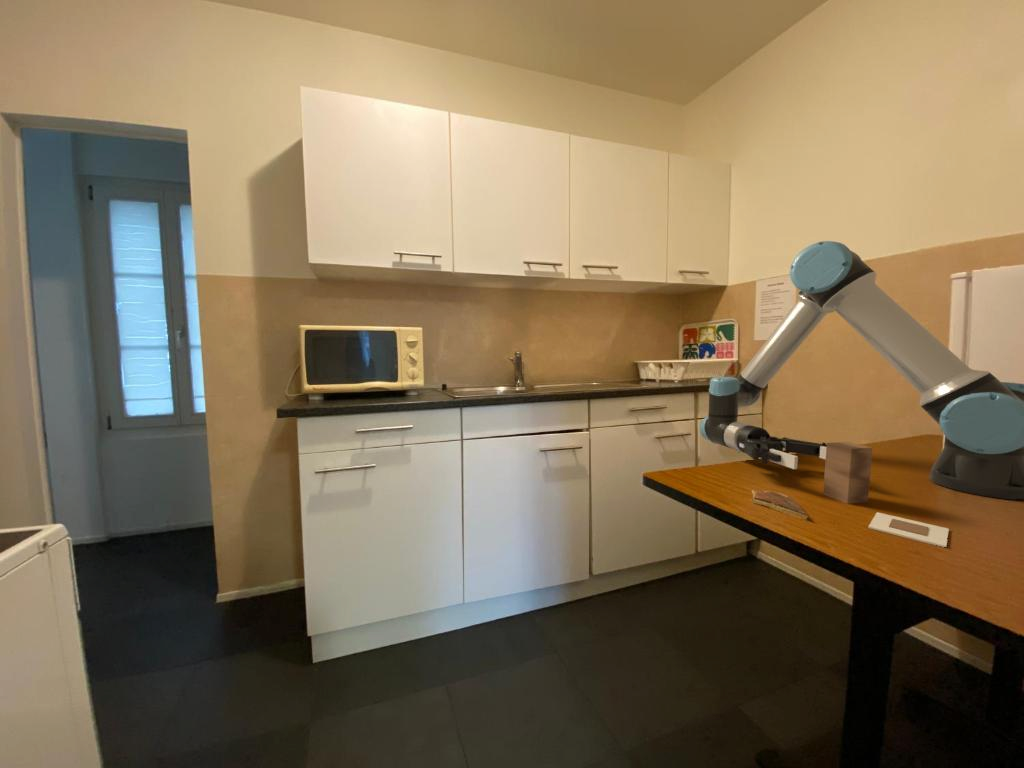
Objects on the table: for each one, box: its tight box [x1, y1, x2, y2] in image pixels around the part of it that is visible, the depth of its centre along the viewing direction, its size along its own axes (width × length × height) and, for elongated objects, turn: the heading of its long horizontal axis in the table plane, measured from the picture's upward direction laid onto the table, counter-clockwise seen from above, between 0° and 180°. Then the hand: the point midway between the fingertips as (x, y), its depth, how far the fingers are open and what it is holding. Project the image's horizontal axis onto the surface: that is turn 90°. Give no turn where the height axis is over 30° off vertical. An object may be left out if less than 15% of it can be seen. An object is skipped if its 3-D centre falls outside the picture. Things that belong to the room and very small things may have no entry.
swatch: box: [867, 511, 950, 548], centre depth 68 cm, size 9×9×1 cm
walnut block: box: [822, 441, 873, 505], centre depth 81 cm, size 5×5×11 cm
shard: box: [750, 489, 810, 521], centre depth 77 cm, size 11×8×2 cm
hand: (823, 461), depth 86 cm, fingers open, 13 cm apart
